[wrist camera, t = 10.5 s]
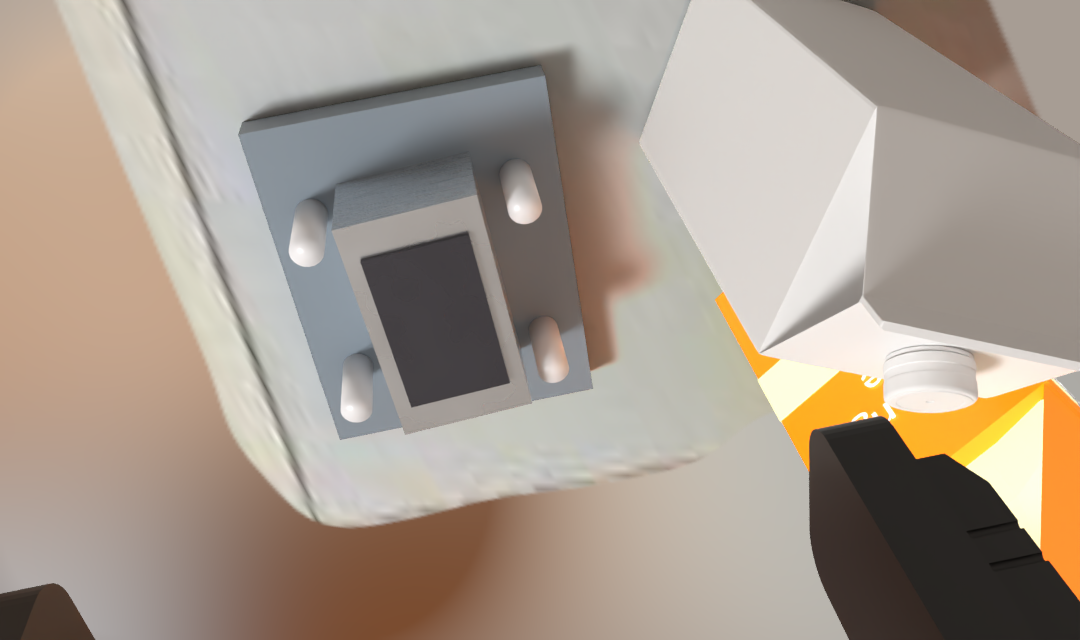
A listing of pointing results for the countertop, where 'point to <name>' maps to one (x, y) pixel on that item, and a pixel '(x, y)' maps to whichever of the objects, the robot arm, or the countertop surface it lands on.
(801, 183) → the milk carton
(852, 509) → the robot arm
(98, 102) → the countertop surface
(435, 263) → the block
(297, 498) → the countertop surface
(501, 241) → the grey plate with pegs
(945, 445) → the orange juice
